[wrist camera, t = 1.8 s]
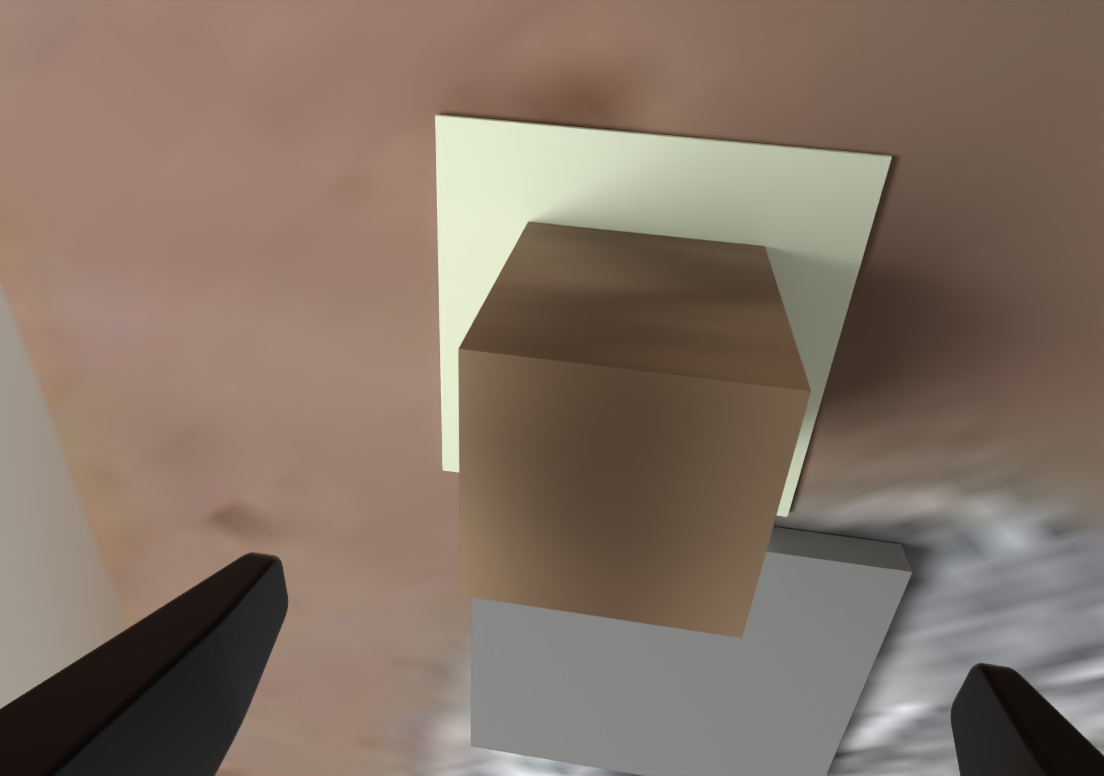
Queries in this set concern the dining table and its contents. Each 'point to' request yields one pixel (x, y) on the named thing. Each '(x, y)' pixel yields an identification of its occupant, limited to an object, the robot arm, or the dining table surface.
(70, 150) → the dining table surface
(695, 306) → the block
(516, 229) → the pale cream tile
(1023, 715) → the robot arm
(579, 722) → the slate board
